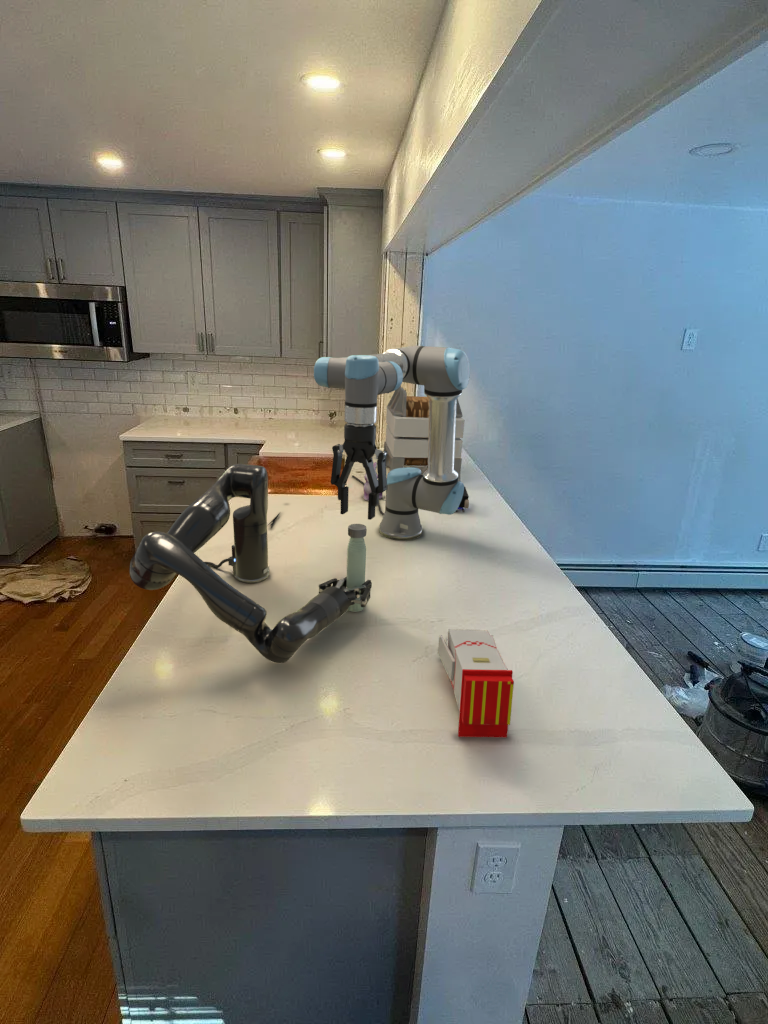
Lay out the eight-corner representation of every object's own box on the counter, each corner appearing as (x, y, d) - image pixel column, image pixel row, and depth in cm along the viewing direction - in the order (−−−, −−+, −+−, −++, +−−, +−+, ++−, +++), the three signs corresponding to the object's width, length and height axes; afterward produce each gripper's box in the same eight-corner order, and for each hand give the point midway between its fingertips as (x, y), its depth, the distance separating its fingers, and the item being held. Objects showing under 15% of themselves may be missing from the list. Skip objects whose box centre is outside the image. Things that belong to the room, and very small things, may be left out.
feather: (287, 506, 225) (290, 502, 224) (270, 530, 198) (272, 526, 198) (283, 504, 225) (286, 500, 224) (265, 527, 198) (268, 523, 197)
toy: (488, 613, 130) (523, 677, 101) (484, 667, 133) (517, 744, 104) (435, 612, 130) (455, 676, 101) (432, 666, 133) (451, 743, 103)
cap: (346, 531, 144) (346, 524, 144) (363, 530, 146) (364, 523, 145) (350, 538, 140) (350, 530, 139) (368, 537, 141) (368, 529, 141)
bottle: (344, 603, 151) (346, 525, 144) (361, 602, 153) (364, 524, 145) (348, 612, 147) (350, 532, 139) (365, 610, 148) (368, 531, 141)
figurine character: (469, 517, 223) (463, 501, 236) (471, 500, 219) (465, 484, 233) (452, 516, 222) (447, 500, 236) (454, 499, 219) (449, 483, 232)
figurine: (367, 502, 230) (368, 467, 225) (357, 495, 238) (358, 460, 233) (388, 500, 234) (389, 465, 229) (377, 492, 242) (378, 458, 237)
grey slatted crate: (382, 463, 289) (386, 382, 275) (445, 464, 293) (451, 384, 279) (390, 482, 257) (394, 392, 243) (460, 483, 261) (468, 394, 247)
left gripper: (301, 613, 140) (337, 586, 154) (351, 630, 134) (384, 600, 148) (300, 586, 137) (338, 561, 152) (352, 601, 131) (385, 574, 146)
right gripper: (405, 425, 133) (400, 517, 141) (330, 416, 140) (329, 504, 148) (393, 431, 126) (388, 527, 134) (315, 421, 134) (315, 512, 141)
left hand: (360, 580), depth 150 cm, fingers closed on bottle, 4 cm apart
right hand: (357, 515), depth 141 cm, fingers open, 7 cm apart
